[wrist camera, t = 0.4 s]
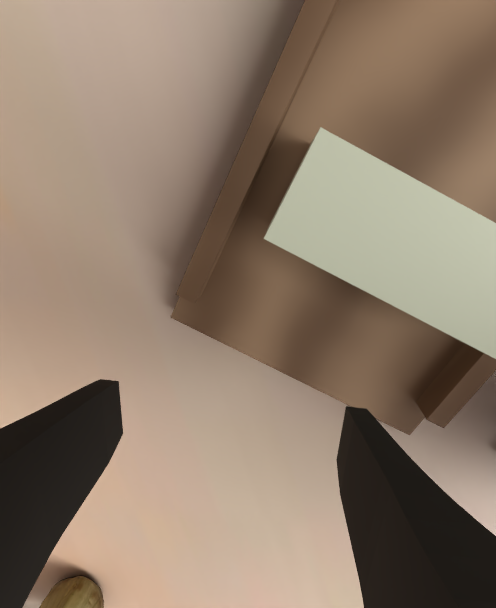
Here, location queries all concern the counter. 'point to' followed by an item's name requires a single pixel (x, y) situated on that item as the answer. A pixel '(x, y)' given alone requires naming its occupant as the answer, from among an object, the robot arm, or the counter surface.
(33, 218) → the counter surface
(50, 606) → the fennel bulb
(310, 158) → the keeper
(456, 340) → the track
